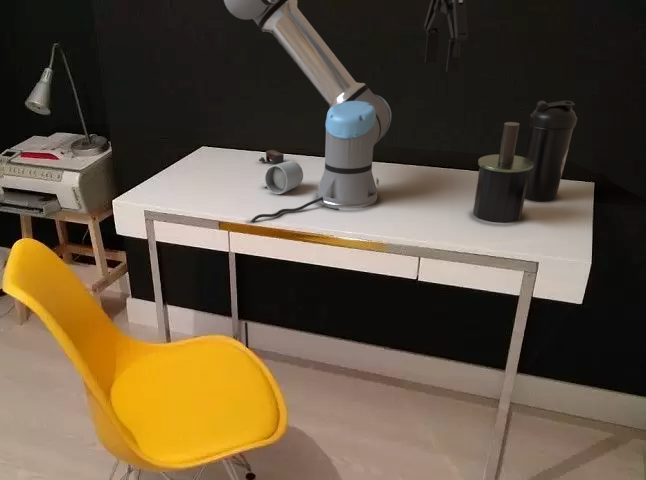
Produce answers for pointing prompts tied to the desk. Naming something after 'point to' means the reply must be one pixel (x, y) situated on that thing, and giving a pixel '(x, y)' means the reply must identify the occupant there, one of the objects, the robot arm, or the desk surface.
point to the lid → (507, 153)
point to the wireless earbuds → (273, 157)
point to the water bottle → (548, 148)
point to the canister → (500, 195)
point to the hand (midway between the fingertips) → (440, 67)
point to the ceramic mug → (283, 177)
